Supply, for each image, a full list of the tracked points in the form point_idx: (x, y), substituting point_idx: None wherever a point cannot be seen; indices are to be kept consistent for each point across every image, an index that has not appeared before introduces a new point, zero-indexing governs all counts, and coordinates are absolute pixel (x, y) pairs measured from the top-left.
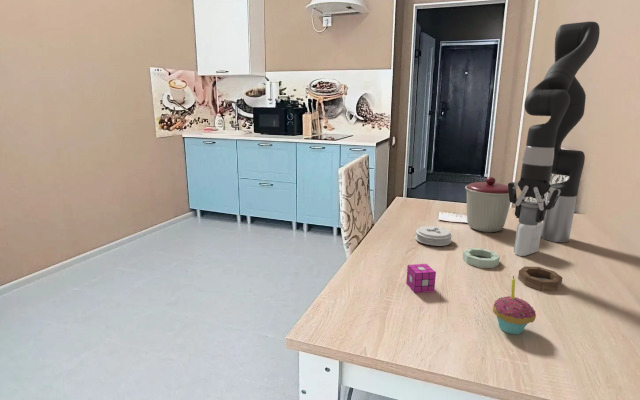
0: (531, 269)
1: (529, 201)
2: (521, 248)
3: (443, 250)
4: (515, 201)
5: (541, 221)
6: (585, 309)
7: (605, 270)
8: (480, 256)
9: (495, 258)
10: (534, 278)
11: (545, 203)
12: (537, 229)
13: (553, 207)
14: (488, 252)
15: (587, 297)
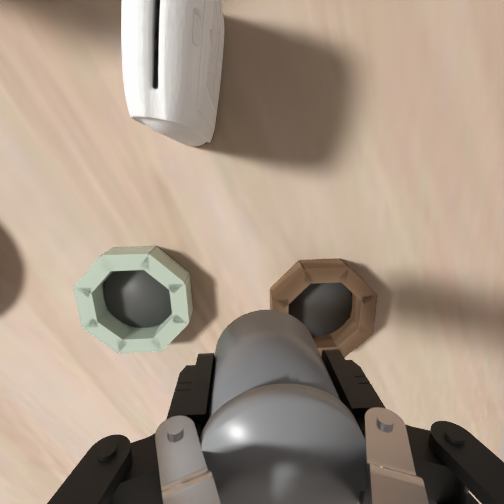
0: (293, 297)
1: (245, 431)
2: (196, 142)
3: (12, 302)
4: (150, 495)
5: (337, 349)
6: (428, 359)
7: (459, 35)
8: (122, 271)
9: (183, 307)
10: (321, 354)
11: (410, 467)
12: (214, 23)
13: (465, 438)
14: (137, 269)
15: (426, 300)
